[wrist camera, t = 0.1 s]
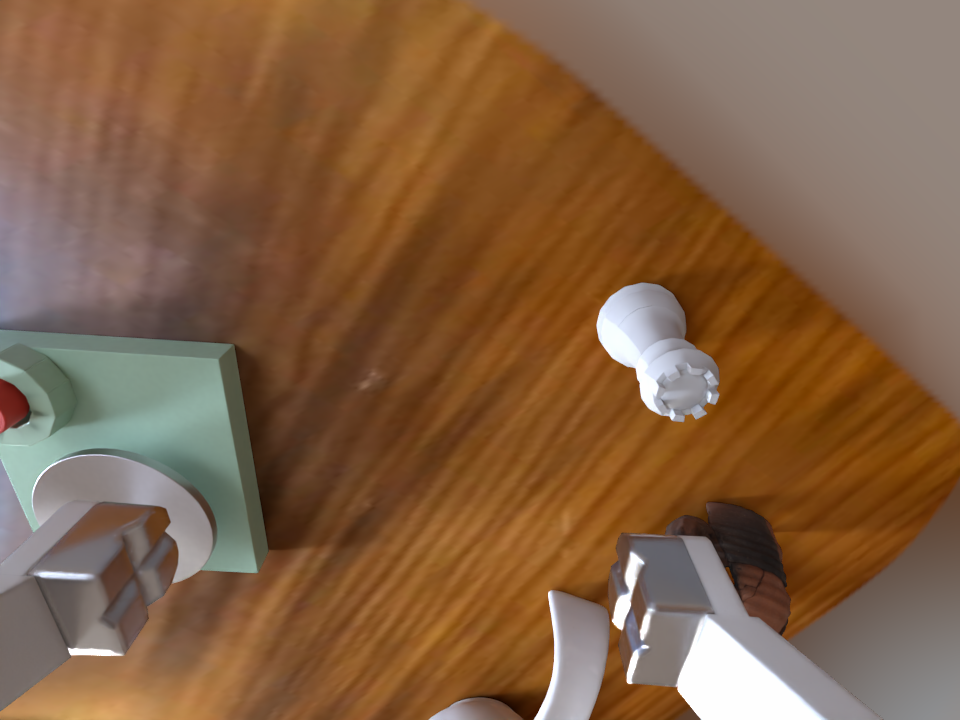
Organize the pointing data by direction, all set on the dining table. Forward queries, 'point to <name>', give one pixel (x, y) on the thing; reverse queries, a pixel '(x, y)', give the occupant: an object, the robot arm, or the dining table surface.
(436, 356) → the dining table surface
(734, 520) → the pottery mug
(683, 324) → the rook chess piece
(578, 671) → the spoon rest
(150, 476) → the pan
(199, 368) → the scale
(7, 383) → the tare button
